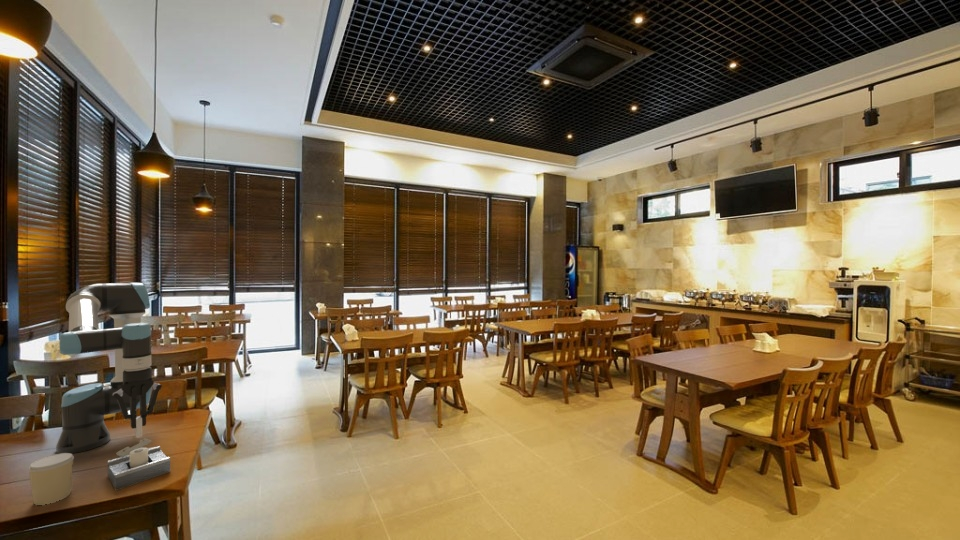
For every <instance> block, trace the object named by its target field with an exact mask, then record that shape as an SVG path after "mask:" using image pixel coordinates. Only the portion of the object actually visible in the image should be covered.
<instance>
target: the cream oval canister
mask: <svg viewBox="0 0 960 540" xmlns="http://www.w3.org/2000/svg"><path fill="white" fill-rule="evenodd" d="M74 459H75V456H74V455H73V453H61V454H58V453H56V454H51V455H48V456H45V457H42V458H38V459H37V460H35V461H33V462H32V463H30V465H29V466H28V471H29V477H30V486H31V492H32V493H31V494H32V501H33V502H32V503H33V504H36V505H35V506H37V505H42V506H46V505H45V504H47V505H51V504H54V503H57V502H60V501H62V500H64V499H65V498H68V496H69V495H70V494H72V493H71V491H72V484H73V483H72V482H73V468H74ZM59 500H60V501H59ZM56 501H57V502H56ZM50 503H51V504H50Z"/></svg>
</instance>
